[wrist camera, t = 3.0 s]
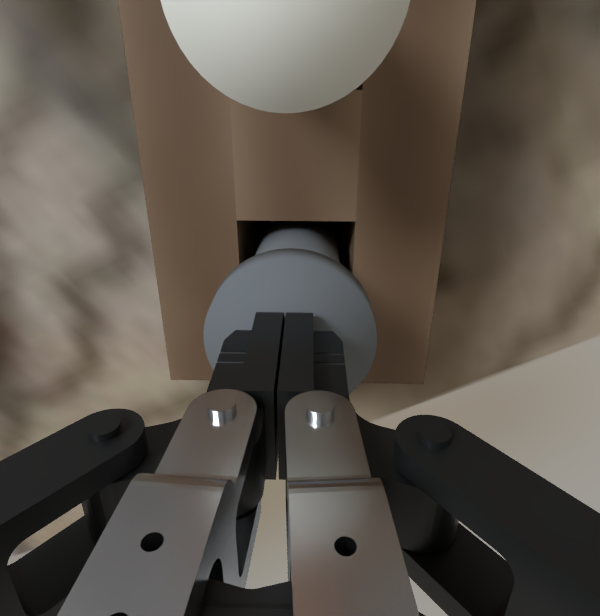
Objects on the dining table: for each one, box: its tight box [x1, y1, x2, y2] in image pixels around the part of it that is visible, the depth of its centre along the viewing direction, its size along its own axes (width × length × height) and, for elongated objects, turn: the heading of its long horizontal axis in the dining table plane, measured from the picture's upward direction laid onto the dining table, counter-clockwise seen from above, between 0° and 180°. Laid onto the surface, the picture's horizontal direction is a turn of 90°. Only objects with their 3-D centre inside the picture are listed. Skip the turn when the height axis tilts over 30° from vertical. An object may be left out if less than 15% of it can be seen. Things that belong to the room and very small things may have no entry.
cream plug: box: [160, 0, 410, 113], centre depth 12 cm, size 5×5×7 cm
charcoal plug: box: [203, 221, 377, 394], centre depth 16 cm, size 5×5×7 cm
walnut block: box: [118, 0, 476, 384], centre depth 16 cm, size 10×25×6 cm, turn 0°
